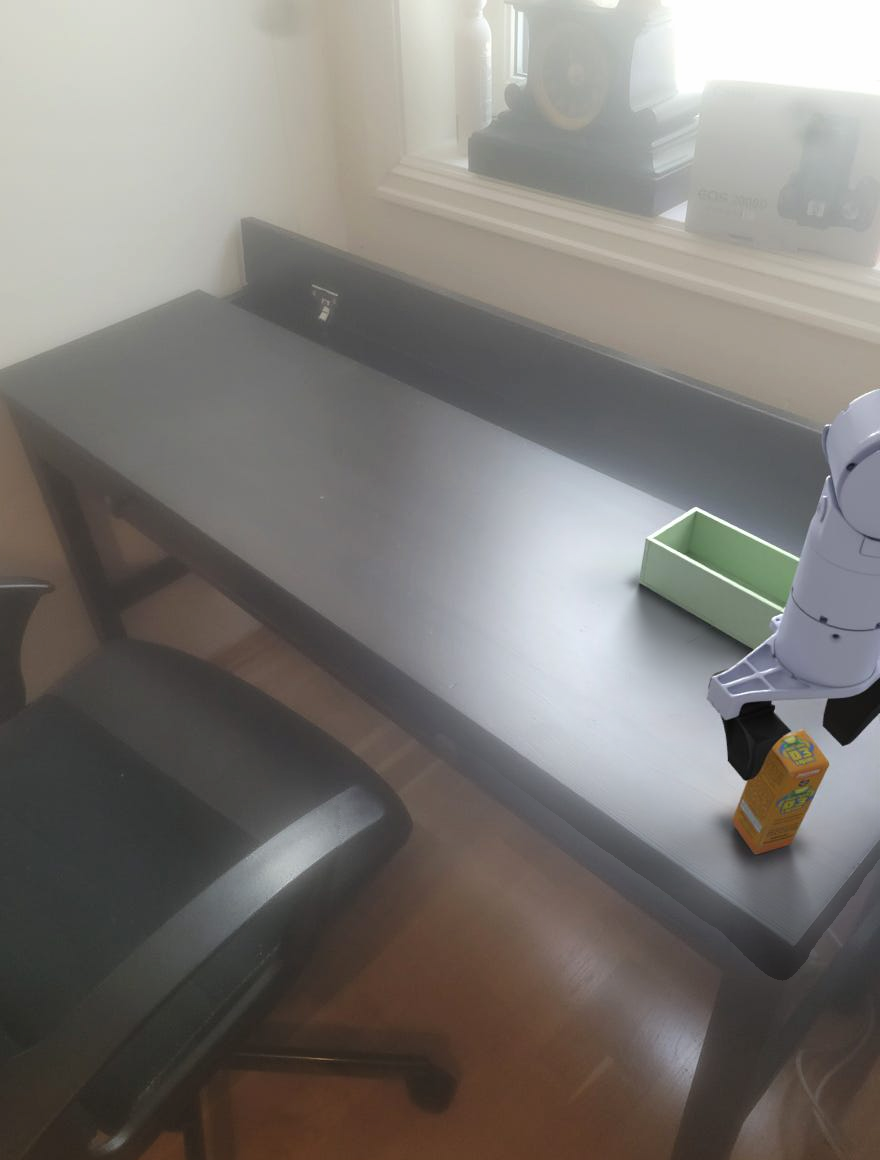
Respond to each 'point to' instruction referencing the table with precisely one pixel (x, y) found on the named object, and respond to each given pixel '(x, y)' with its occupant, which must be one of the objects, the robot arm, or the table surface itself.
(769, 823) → the supplement box
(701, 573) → the storage bin
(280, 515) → the table surface
